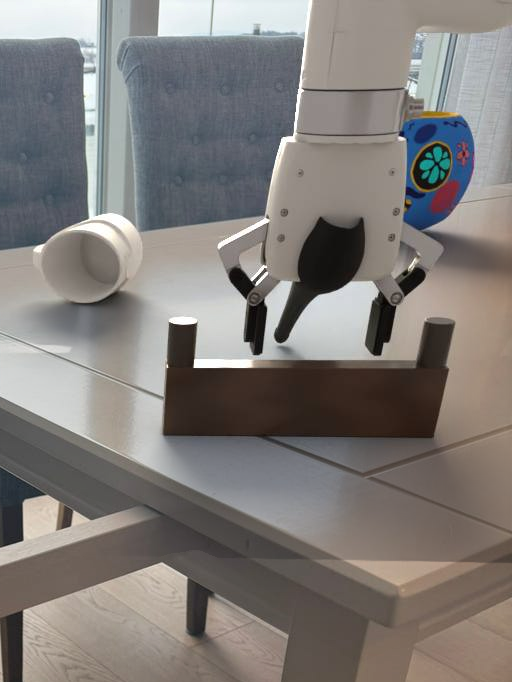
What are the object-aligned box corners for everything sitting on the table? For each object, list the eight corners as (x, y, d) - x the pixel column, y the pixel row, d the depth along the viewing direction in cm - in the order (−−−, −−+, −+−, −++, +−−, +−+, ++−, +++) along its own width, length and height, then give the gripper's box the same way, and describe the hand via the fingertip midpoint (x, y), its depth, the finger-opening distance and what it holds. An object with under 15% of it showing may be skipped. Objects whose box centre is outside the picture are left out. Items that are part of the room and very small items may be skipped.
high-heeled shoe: (353, 175, 88) (431, 25, 69) (317, 368, 88) (385, 274, 68) (270, 162, 89) (324, 9, 69) (233, 353, 88) (276, 255, 68)
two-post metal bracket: (426, 427, 69) (450, 316, 65) (434, 437, 67) (459, 324, 63) (161, 425, 70) (168, 317, 66) (162, 434, 69) (169, 324, 64)
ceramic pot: (317, 237, 133) (334, 117, 124) (349, 218, 145) (367, 108, 137) (447, 247, 125) (473, 119, 117) (469, 226, 138) (494, 109, 130)
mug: (148, 290, 107) (151, 215, 103) (121, 309, 100) (123, 229, 96) (52, 282, 112) (51, 210, 107) (20, 300, 104) (18, 223, 100)
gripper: (453, 112, 71) (408, 339, 80) (224, 115, 72) (206, 338, 82) (485, 119, 65) (432, 365, 74) (234, 123, 66) (213, 364, 75)
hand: (313, 351), depth 78 cm, fingers open, 9 cm apart
